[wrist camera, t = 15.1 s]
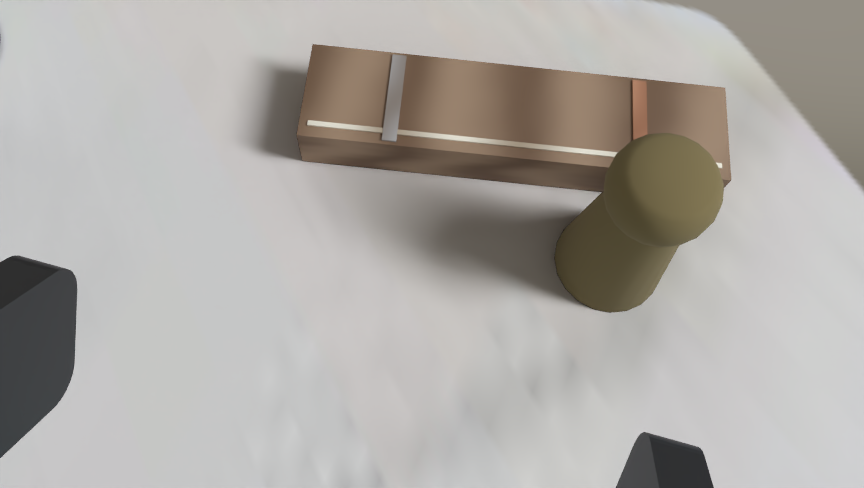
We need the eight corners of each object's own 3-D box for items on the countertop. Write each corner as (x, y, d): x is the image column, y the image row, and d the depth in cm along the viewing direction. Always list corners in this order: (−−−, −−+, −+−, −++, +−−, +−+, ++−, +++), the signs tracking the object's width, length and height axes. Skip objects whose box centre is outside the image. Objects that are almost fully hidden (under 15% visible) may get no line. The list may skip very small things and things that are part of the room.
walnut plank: (302, 160, 44) (296, 133, 41) (317, 74, 46) (312, 42, 43) (709, 202, 44) (732, 179, 41) (705, 115, 46) (726, 86, 43)
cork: (682, 276, 42) (774, 192, 32) (598, 332, 41) (667, 263, 30) (615, 194, 44) (683, 89, 34) (533, 245, 42) (578, 151, 32)
